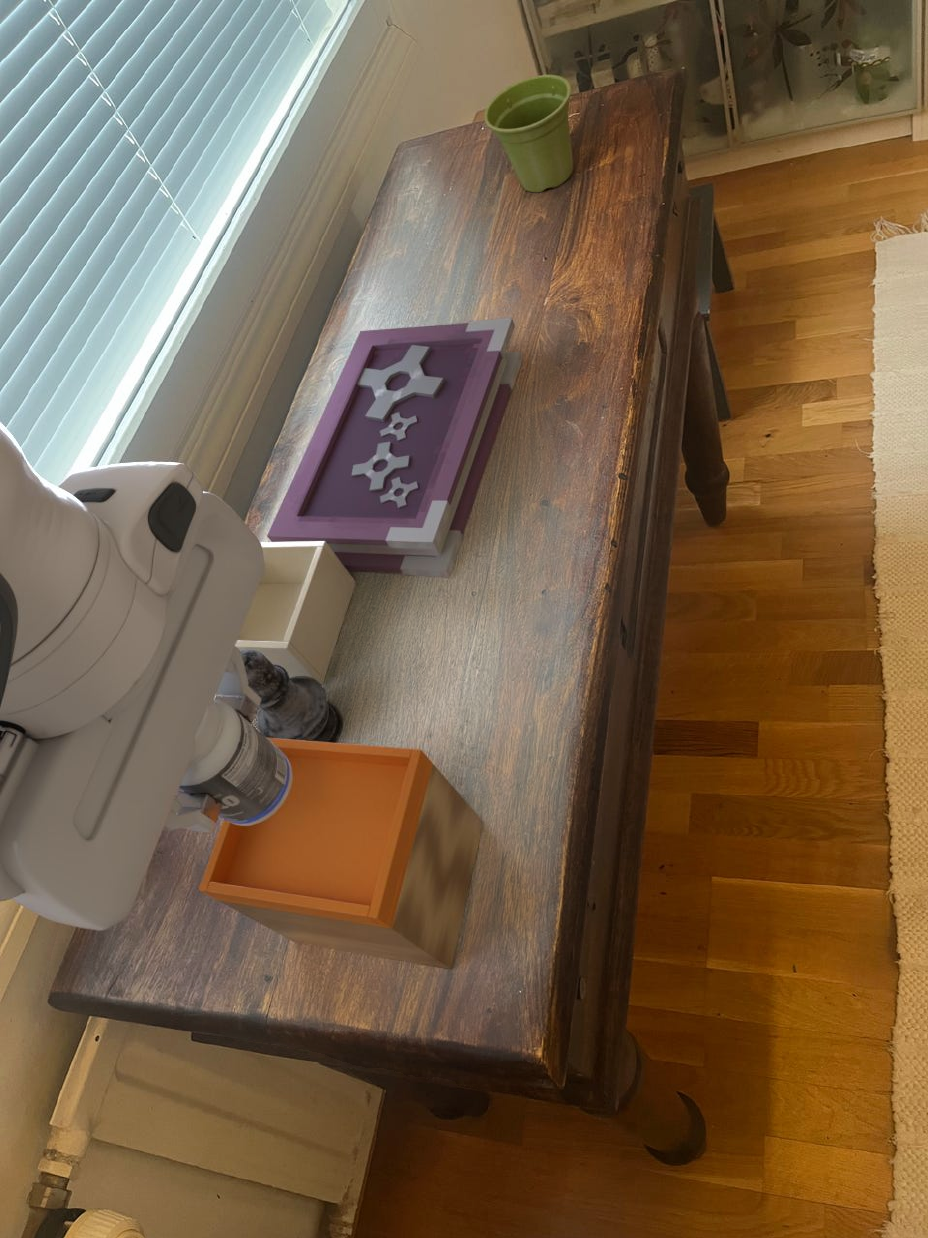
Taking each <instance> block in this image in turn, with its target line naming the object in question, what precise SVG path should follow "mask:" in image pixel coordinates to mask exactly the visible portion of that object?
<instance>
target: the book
mask: <svg viewBox="0 0 928 1238" xmlns="http://www.w3.org/2000/svg"><path fill="white" fill-rule="evenodd" d="M515 328H516V325H515V321H514V319H513V317H505V318H493V319H492V318H491V319H478V320H469V321H468V322H462V323H461V322H460V323H449V324H448V323H447V324H435V325H422V326H408V327H396V328H395V327H394V328H382V329H381V328H380V329H369V330H368V329H367V330H360V331H359V333H358V335H357V337H356V340H355V342H354V344H353V346H352V349H351V351H350V353H349V354H348V357H347V359H346V362H345V363H344V367H343V368H342V370H341V373H340V375H339V377H338V379H337V381H336V384H335V386H334V387H333V390H332V392H331V394H330V397H329V398H328V401H327V403H326V406H325V407H324V410H323V411H322V413H321V416H320V419H319V420H318V423H317V425H316V427H315V430H314V432H313V433H312V436H311V438H310V441H309V443H308V445H307V447H306V449H305V451H304V453H303V456H302V458H301V460H300V463H299V464H298V467H297V469H296V471H295V474H294V475H293V477H292V480H291V482H290V484H289V487H288V489H287V491H286V493H285V495H284V497H283V499H282V502H281V504H280V506H279V508H278V511H277V513H276V515H275V517H274V519H273V522H272V523H271V526H270V527H269V530H268V532H267V535H266V537H267V539H269V540H270V541H269V542H299V541H326V542H327V544H328V545H329V547H330V548H331V549H332V551H333V552H334V553H335V555H336V556H337V557H338V559H339V560H340V561H341V563H342V564H343V565H344V567H345V568H346V569H347V571H348V572H364V573H365V572H366V573H383V574H386V573H387V574H403V576H414V577H431V578H432V577H434V578H451V575H452V572H453V569H454V566H455V563H456V560H457V558H458V554H459V552H460V548H461V545H462V543H463V539H464V533H465V530H466V526H467V524H468V520H469V517H470V515H471V513H472V508H473V506H474V503H475V500H476V497H477V494H478V491H479V487H480V484H481V482H482V479H483V476H484V472H485V470H486V467H487V465H488V462H489V458H490V455H491V453H492V449H493V446H494V443H495V440H496V438H497V434H498V431H499V428H500V425H501V422H502V420H503V416H504V413H505V410H506V408H507V405H508V402H509V399H510V396H511V393H512V392H513V391H514V387H515V384H516V382H517V378H518V375H519V374H520V370H521V368H522V364H523V362H524V358H523V356H522V352H521V351H511V352H510V351H507V350H508V348H509V345H510V342H511V339H512V336H513V333H514V330H515Z"/></svg>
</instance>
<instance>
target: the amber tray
mask: <svg viewBox="0 0 928 1238" xmlns="http://www.w3.org/2000/svg"><path fill="white" fill-rule="evenodd" d="M267 739H269V740H270V741H271V742H272V743H273V744H274V745H275V746H277V748H279V749H280V750H281V751H282V752H283V753H284V754H285V755H286V757H287V758H288V760H289V762H290V764H291V768H292V777H293V778H292V785H291V788H290V791H289V793H288V796H287V798H286V799H285V801H284V803H283V804H282V805H281V807H280V808H279V809H278V810H277V811H276V812H275V813H274V814H273V815H272V816H270V817H269V818H268V819H266V820H264V821H262V822H260V823H257V824H254V825H251V826H240V825H236V824H233V823H230V822H228V821H227V820H225V819H223V821H222V823H221V826H220V828H219V832H218V834H217V837H216V840H215V843H214V845H213V848H212V850H211V853H210V857H209V859H208V863H207V865H206V867H205V870H204V873H203V876H202V879H201V881H200V884H199V887H198V891H200V892H201V893H203V894H205V895H207V896H208V897H210V898H212V899H214V900H216V901H218V900H219V901H218V902H220V901H225V902H231V903H237V904H244V905H250V906H256V907H262V908H268V909H274V910H281V911H287V912H293V913H299V914H305V915H311V916H317V917H324V918H330V919H336V920H342V921H348V922H354V923H361V924H367V925H373V926H379V927H385V928H392V925H393V921H394V917H395V914H396V910H397V906H398V902H399V898H400V894H401V890H402V886H403V882H404V878H405V874H406V870H407V866H408V862H409V858H410V854H411V850H412V846H413V842H414V838H415V834H416V830H417V826H418V822H419V818H420V814H421V810H422V807H423V803H424V799H425V795H426V791H427V787H428V783H429V779H430V775H431V771H432V767H433V764H434V762H433V761H432V760H431V759H430V758H429V757H428V756H427V755H426V753H424V751H423V750H422V749H419V748H407V747H394V746H379V745H368V744H367V745H366V744H357V743H356V744H355V743H354V744H352V743H343V742H342V743H341V742H336V743H330V742H317V741H303V740H290V739H277V738H267Z"/></svg>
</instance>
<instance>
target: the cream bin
mask: <svg viewBox="0 0 928 1238" xmlns="http://www.w3.org/2000/svg"><path fill="white" fill-rule="evenodd" d="M259 542H260V543H261V546H262V551H263V556H264V564H265V569H264V573H263V575H262V578H261V580H260V583H259V585H258V588H257V590H256V593H255V595H254V598H253V600H252V603H251V606H250V608H249V611H248V613H247V616H246V618H245V621H244V623H243V626H242V628H241V631H240V634H239V636H238V639H237V641H236V644H235V646H236V647H237V648H238V649H239V650H240V651H243V650H247V649H254V650H257V651H259V652H261V653H262V654H263V655H264V656H265V657H266V658H267V659H268V660H269V661H270V662H271V663H272V664H273V665H279V666H282V667H283V668H284V669H285V670H286V671H287V672H288V675H289V678H291V677H295V676H308V677H311V678H314V679H315V680H317V681H318V682H320V684H321V685H322V686H323V684H324V682H325V679H326V676H327V673H328V670H329V667H330V663H331V660H332V657H333V654H334V651H335V648H336V645H337V642H338V639H339V636H340V633H341V629H342V626H343V625H344V621H345V618H346V615H347V612H348V608H349V606H350V602H351V599H352V596H353V593H354V590H355V587H356V584H357V581H356V580H355V579H354V577H353V576H352V574H351V573H350V571H347V569H346V568H345V567H344V565H343V564H342V563H341V561H340V560H339V559H338V557H337V556H336V555H335V553H334V552H333V551H332V549H331V548H330V547H329V545H328V544H327V542H326V541H299V542H271V541H259Z"/></svg>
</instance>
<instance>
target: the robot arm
mask: <svg viewBox="0 0 928 1238" xmlns="http://www.w3.org/2000/svg"><path fill="white" fill-rule="evenodd" d="M260 542H261V541H260V540H259V538H258V537H257V536H256V534H255V533H254V532H253V530H252V529H251V528H250V527H249V526H248V524H247V523H246V522H245V521H244V520H243V519H242V518H241V517H240V515H239V514H238V513H237V512H235V510H234V509H233V508H232V507H231V506H229V504H228V503H226V502H225V501H224V500H223V499H222V498H221V497H219V496H218V495H216V494H214V493H212V492H208V491H204V488H203V485H202V483H201V480H200V478H199V477H198V476H197V474H196V472H194V471H193V470H192V468H191V467H190V466H189V465H187V464H186V463H184V462H183V463H182V462H171V461H168V462H167V461H141V462H140V461H138V462H123V463H115V464H109V465H108V464H107V465H99V466H93V467H88V468H83V469H78V470H75V471H74V472H72V473H70V474H69V475H68V476H66V477H65V478H64V479H63V480H62V481H61V482H60V483H59V484H58V485H54V484H52V483H50V482H49V481H47V480H46V479H44V477H41V476H40V475H39V473H37V472H36V471H35V469H34V468H33V467H32V465H31V464H30V463H29V461H28V460H27V458H26V456H25V454H24V452H23V450H22V448H21V446H20V445H19V443H18V442H17V440H16V438H15V437H14V436H13V435H12V433H11V432H10V431H9V430H8V428H6V427H5V426H4V425H3V424H2V422H0V902H5V901H9V900H12V901H13V902H15V903H17V904H19V905H20V906H22V907H23V908H25V909H27V910H28V911H30V912H33V913H34V914H36V915H38V916H40V917H42V918H44V919H46V920H49V921H51V922H55V923H58V924H62V925H66V926H70V927H75V928H79V929H86V930H91V931H101V932H103V931H107V930H108V929H110V928H113V927H115V926H116V925H118V924H120V923H122V922H123V921H125V920H126V919H127V918H128V917H129V915H130V914H131V911H132V909H133V907H134V905H135V902H136V900H137V897H138V894H139V891H140V889H141V887H142V884H143V881H144V879H145V876H146V874H147V871H148V868H149V867H150V864H151V861H152V859H153V855H154V853H155V850H156V848H157V846H158V844H159V841H160V838H161V836H162V833H163V831H168V832H173V831H176V830H180V829H184V830H187V831H190V832H194V833H203V834H214V832H215V829H216V825H217V822H218V820H219V817H220V816H219V814H220V811H221V808H222V804H221V803H219V802H215V799H214V798H212V797H211V796H209V795H208V794H202V793H196V794H194V795H193V794H191V793H190V792H184V791H183V790H179V789H180V788H179V787H180V784H181V782H182V779H183V777H184V774H185V772H186V769H187V767H188V764H189V761H190V759H191V756H192V754H193V751H194V749H195V746H196V742H195V735H196V733H197V730H198V728H199V725H200V723H201V720H202V718H203V715H204V713H205V710H206V708H207V707H208V706H211V705H212V703H213V700H214V699H217V700H220V701H223V702H225V703H227V704H229V705H230V706H232V707H233V708H234V709H235V710H236V711H237V712H238V713H239V714H241V715H242V716H243V717H244V718H245V719H246V720H247V721H248V722H249V723H250V724H251V725H253V724H254V721H255V718H256V717H257V714H258V711H259V708H258V707H259V705H260V702H261V697H259V696H258V695H257V694H256V693H255V692H254V691H253V690H252V689H251V688H250V687H249V686H248V684H249V683H248V679H247V675H246V671H245V667H244V662H243V658H242V654H241V651H240V650H239V649H238V648H237V647H236V646H235V644H236V641H237V639H238V636H239V634H240V631H241V628H242V626H243V623H244V621H245V618H246V616H247V613H248V611H249V608H250V606H251V603H252V600H253V598H254V595H255V593H256V590H257V588H258V585H259V583H260V580H261V578H262V575H263V573H264V569H265V564H264V556H263V551H262V546H261V543H260Z"/></svg>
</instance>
